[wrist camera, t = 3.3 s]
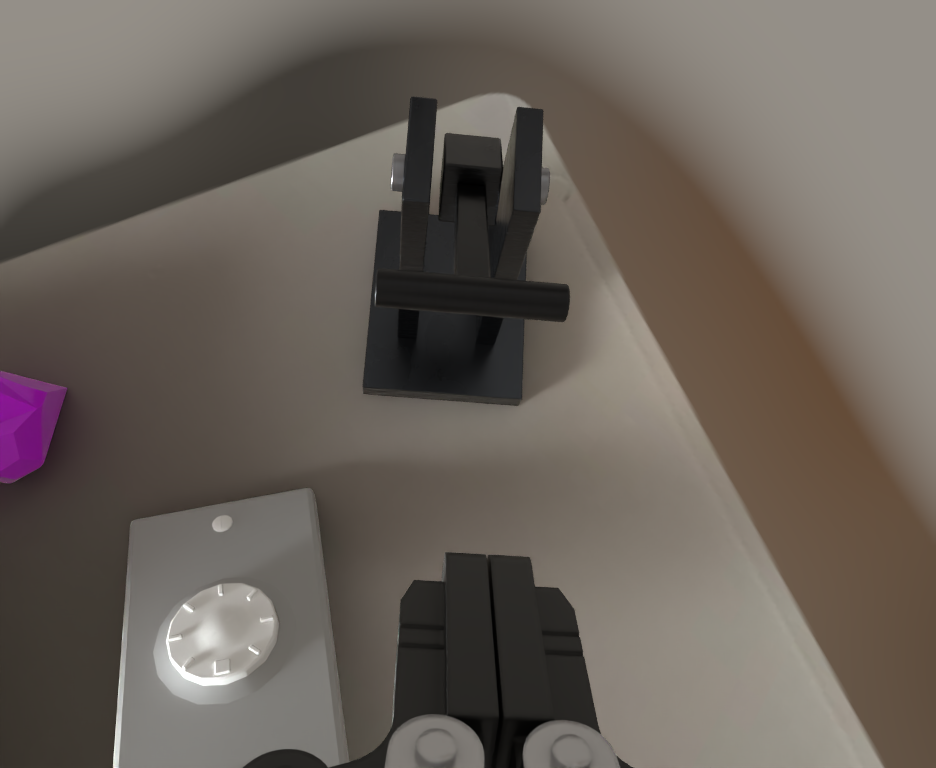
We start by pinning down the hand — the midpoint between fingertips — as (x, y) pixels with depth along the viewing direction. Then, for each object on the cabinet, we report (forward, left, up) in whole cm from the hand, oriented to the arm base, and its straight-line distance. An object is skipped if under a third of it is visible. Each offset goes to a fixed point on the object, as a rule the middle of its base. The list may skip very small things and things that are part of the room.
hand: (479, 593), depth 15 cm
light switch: (+8, -3, -26) cm, 28 cm away
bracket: (-8, -14, -26) cm, 31 cm away
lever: (-7, -11, -12) cm, 18 cm away
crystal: (+14, -17, -26) cm, 34 cm away
